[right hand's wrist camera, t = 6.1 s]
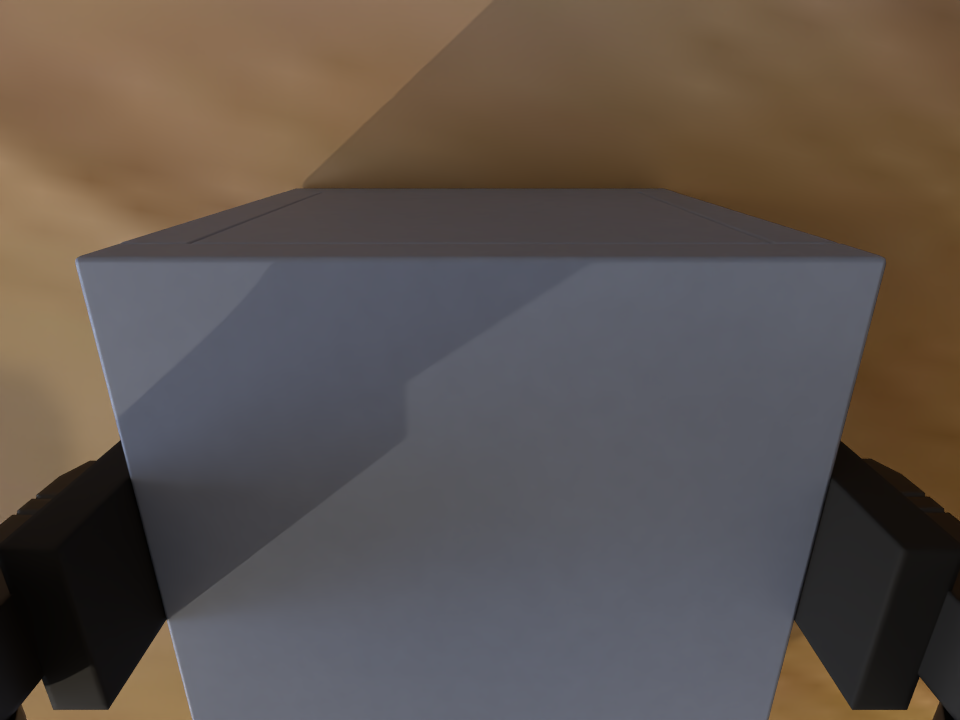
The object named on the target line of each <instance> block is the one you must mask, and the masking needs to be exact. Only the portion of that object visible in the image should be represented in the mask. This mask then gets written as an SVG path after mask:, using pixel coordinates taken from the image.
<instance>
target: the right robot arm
mask: <svg viewBox="0 0 960 720" xmlns="http://www.w3.org/2000/svg"><path fill="white" fill-rule="evenodd" d="M36 496H37V497H36V499H31V500H30V501H29V502H27V503H26V504H25V505H24V506H23V507H21V508H20V509H19V510H18V511H17V515H11V516H10V517H9V518H8V519H7V520H5V521H4V522H3V523H2V524H0V720H26V715H25V712H24V710H23V707H22V705H21V704H22V703H23V701H24V700H25V699H26V698H27V696H28V695H29V694H30V693H31V691H32V690H33V689H34V688H35V686H36V685H37V684H38V683H39V681H40V680H41V679H42V681H43V683H44V686H45V689H46V691H47V694H48V697H49V699H50V702H51V705H52V707H53V710H108V709H109V708H110V706H111V705H112V703H113V702H114V700H115V698H116V697H117V695H118V694H119V692H120V691H121V689H122V688H123V686H124V684H125V683H126V681H127V680H128V678H129V677H130V675H131V674H132V672H133V670H134V669H135V667H136V666H137V664H138V663H139V661H140V660H141V658H142V657H143V655H144V653H145V652H146V650H147V649H148V647H149V646H150V644H151V643H152V641H153V639H154V638H155V636H156V635H157V633H158V632H159V630H160V629H161V627H162V625H163V624H164V622H165V621H166V619H167V618H166V614H165V610H164V607H163V603H162V599H161V595H160V591H159V587H158V583H157V579H156V575H155V571H154V568H153V564H152V560H151V556H150V552H149V548H148V544H147V540H146V536H145V532H144V529H143V525H142V521H141V517H140V513H139V509H138V505H137V501H136V497H135V493H134V490H133V486H132V482H131V478H130V474H129V470H128V466H127V462H126V458H125V454H124V451H123V447H122V443H121V440H120V441H119V442H118V443H117V444H116V445H114V446H113V447H112V448H111V449H110V450H109V451H107V452H106V453H105V454H104V455H103V456H102V457H100V458H99V459H98V460H97V461H89V462H87V463H85V464H83V465H81V466H79V467H77V468H75V469H73V470H71V471H69V472H67V473H65V474H63V475H61V476H59V477H58V478H57V479H56V480H54V481H53V482H52V483H51V484H49V485H48V486H47V487H46V488H45V489H43V490H42V491H41V492H40V493H38V494H37V495H36ZM794 620H795V622H796V623H797V625H798V626H799V628H800V629H801V631H802V632H803V634H804V636H805V637H806V639H807V640H808V642H809V643H810V645H811V646H812V648H813V650H814V651H815V653H816V654H817V656H818V657H819V659H820V660H821V662H822V664H823V665H824V667H825V668H826V670H827V671H828V673H829V674H830V676H831V677H832V679H833V681H834V682H835V684H836V685H837V687H838V688H839V690H840V691H841V693H842V695H843V696H844V698H845V699H846V701H847V702H848V704H849V705H850V707H851V709H852V710H907V709H908V706H909V704H910V701H911V698H912V696H913V693H914V690H915V688H916V685H917V682H918V680H919V677H920V678H921V679H922V680H923V681H924V683H925V684H926V685H927V686H928V688H929V689H930V690H931V691H932V692H933V694H934V695H935V696H936V697H937V699H938V700H939V701H940V702H939V705H938V707H937V710H936V712H935V715H934V717H933V720H960V521H959V520H958V519H956V518H955V517H954V516H953V515H951V514H950V513H945V512H944V508H943V507H941V506H940V505H939V504H938V503H937V502H935V501H934V500H933V499H932V498H930V497H925V493H924V492H923V491H922V490H920V489H919V488H918V487H917V486H916V485H914V484H913V483H912V482H911V481H909V480H908V479H907V478H906V477H904V476H903V475H902V474H900V473H898V472H896V471H894V470H892V469H890V468H888V467H886V466H884V465H882V464H880V463H878V462H876V461H874V460H872V459H861V458H860V457H859V456H858V455H857V454H855V453H854V452H853V451H852V450H851V449H850V448H848V447H847V446H846V445H845V444H844V443H843V442H841V441H840V444H839V448H838V451H837V455H836V459H835V463H834V467H833V471H832V475H831V479H830V482H829V486H828V490H827V494H826V498H825V502H824V506H823V510H822V513H821V517H820V521H819V525H818V529H817V533H816V537H815V541H814V544H813V548H812V552H811V556H810V560H809V564H808V568H807V572H806V576H805V579H804V583H803V587H802V591H801V595H800V599H799V603H798V607H797V610H796V614H795V618H794Z"/></svg>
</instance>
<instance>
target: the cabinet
mask: <svg viewBox="0 0 960 720" xmlns="http://www.w3.org/2000/svg"><path fill="white" fill-rule="evenodd" d="M885 265H886V259H885V258H884V257H882V256H879V255H876V254H873V253H869V252H866V251H863V250H860V249H857V248H853V247H850V246H847V245H844V244H838V243H836V242H833V241H830V240H827V239H824V238H821V237H817V236H814V235H811V234H808V233H804V232H801V231H798V230H795V229H792V228H788V227H785V226H782V225H779V224H775V223H772V222H769V221H766V220H763V219H759V218H756V217H753V216H750V215H746V214H743V213H740V212H737V211H734V210H730V209H727V208H724V207H721V206H717V205H714V204H711V203H708V202H705V201H701V200H698V199H695V198H692V197H688V196H685V195H682V194H679V193H676V192H673V191H670V190H667V189H293V190H290V191H287V192H283V193H280V194H277V195H273V196H270V197H267V198H264V199H261V200H257V201H254V202H251V203H248V204H244V205H241V206H238V207H235V208H232V209H228V210H225V211H222V212H219V213H215V214H212V215H209V216H206V217H203V218H199V219H196V220H193V221H190V222H186V223H183V224H180V225H177V226H174V227H170V228H167V229H164V230H161V231H157V232H154V233H151V234H148V235H145V236H141V237H138V238H135V239H132V240H128V241H125V242H122V243H121V244H117V245H114V246H111V247H108V248H105V249H101V250H98V251H95V252H92V253H89V254H85V255H82V256H80V257H78V258H77V259H76V267H77V271H78V275H79V279H80V283H81V287H82V291H83V295H84V298H85V302H86V306H87V310H88V314H89V318H90V322H91V326H92V330H93V334H94V337H95V341H96V345H97V349H98V353H99V357H100V361H101V365H102V369H103V373H104V376H105V380H106V384H107V388H108V392H109V396H110V400H111V404H112V408H113V412H114V415H115V419H116V423H117V427H118V431H119V435H120V439H121V443H122V447H123V451H124V454H125V458H126V462H127V466H128V470H129V474H130V478H131V482H132V486H133V490H134V493H135V497H136V501H137V505H138V509H139V513H140V517H141V521H142V525H143V529H144V532H145V536H146V540H147V544H148V548H149V552H150V556H151V560H152V564H153V568H154V571H155V575H156V579H157V583H158V587H159V591H160V595H161V599H162V603H163V607H164V610H165V614H166V618H167V622H168V626H169V630H170V634H171V638H172V642H173V646H174V649H175V653H176V657H177V661H178V665H179V669H180V673H181V677H182V681H183V685H184V688H185V692H186V696H187V700H188V704H189V708H190V712H191V716H192V720H768V719H769V715H770V711H771V707H772V703H773V700H774V696H775V692H776V688H777V684H778V680H779V676H780V672H781V669H782V665H783V661H784V657H785V653H786V649H787V645H788V641H789V638H790V634H791V630H792V626H793V622H794V618H795V614H796V610H797V607H798V603H799V599H800V595H801V591H802V587H803V583H804V579H805V576H806V572H807V568H808V564H809V560H810V556H811V552H812V548H813V544H814V541H815V537H816V533H817V529H818V525H819V521H820V517H821V513H822V510H823V506H824V502H825V498H826V494H827V490H828V486H829V482H830V479H831V475H832V471H833V467H834V463H835V459H836V455H837V451H838V448H839V444H840V440H841V436H842V432H843V428H844V424H845V420H846V417H847V413H848V409H849V405H850V401H851V397H852V393H853V389H854V385H855V382H856V378H857V374H858V370H859V366H860V362H861V358H862V354H863V351H864V347H865V343H866V339H867V335H868V331H869V327H870V323H871V320H872V316H873V312H874V308H875V304H876V300H877V296H878V292H879V289H880V285H881V281H882V277H883V273H884V269H885Z"/></svg>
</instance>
